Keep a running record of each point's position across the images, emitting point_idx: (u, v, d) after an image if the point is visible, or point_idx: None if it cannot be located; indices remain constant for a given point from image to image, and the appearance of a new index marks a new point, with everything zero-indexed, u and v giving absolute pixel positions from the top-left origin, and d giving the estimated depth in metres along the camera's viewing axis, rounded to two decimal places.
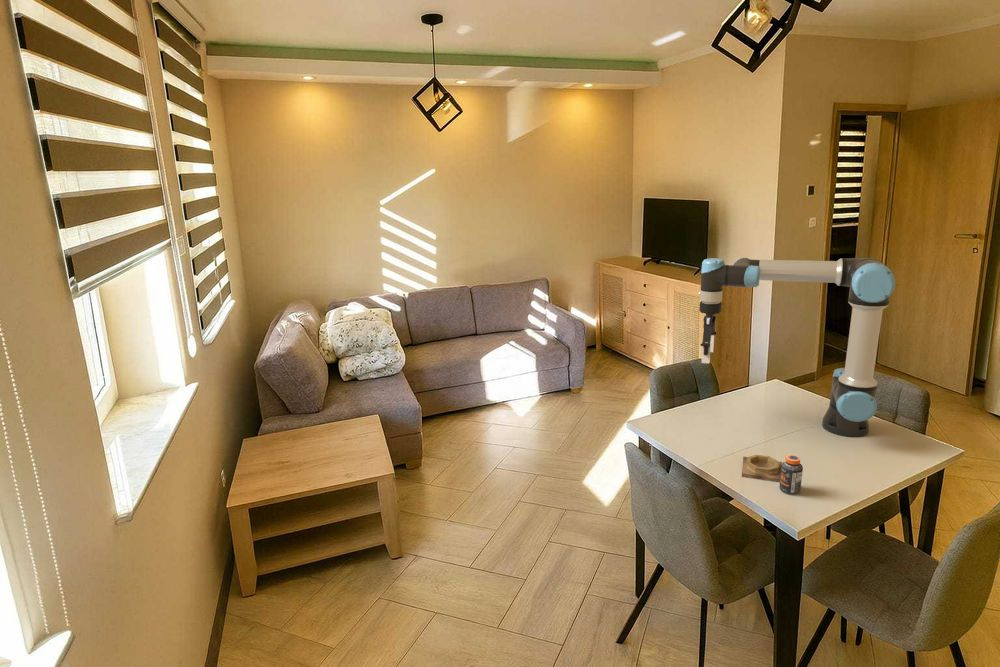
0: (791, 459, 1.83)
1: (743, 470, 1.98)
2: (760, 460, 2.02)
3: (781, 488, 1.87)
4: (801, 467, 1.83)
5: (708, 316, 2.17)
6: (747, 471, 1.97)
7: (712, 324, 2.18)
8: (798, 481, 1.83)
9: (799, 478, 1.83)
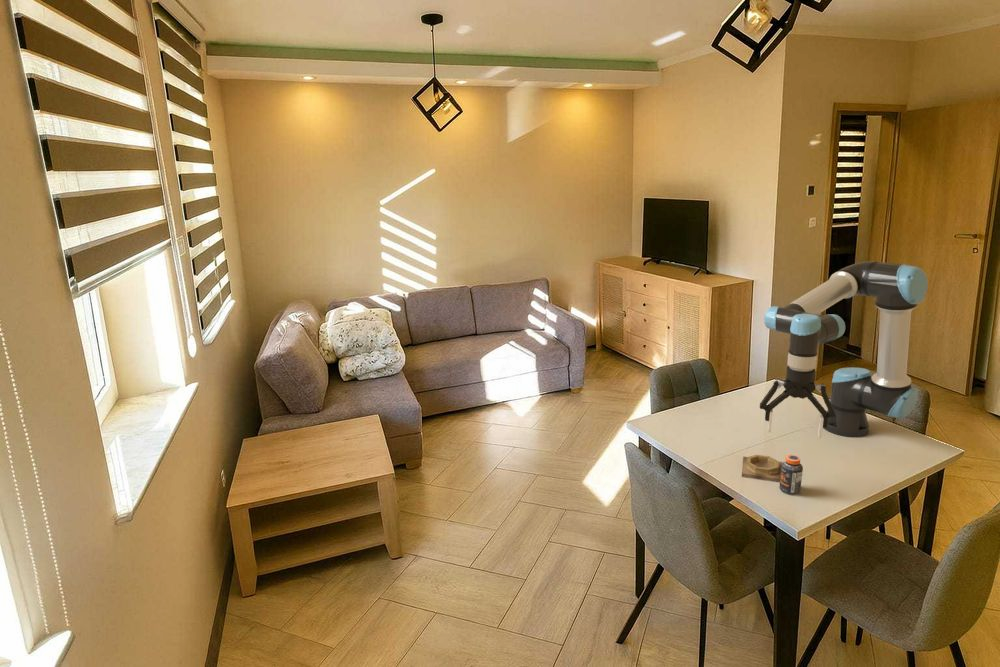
0: (791, 459, 1.83)
1: (743, 470, 1.98)
2: (760, 460, 2.02)
3: (781, 488, 1.87)
4: (801, 467, 1.83)
5: (785, 380, 1.79)
6: (747, 471, 1.97)
7: (787, 392, 1.79)
8: (798, 481, 1.83)
9: (799, 478, 1.83)
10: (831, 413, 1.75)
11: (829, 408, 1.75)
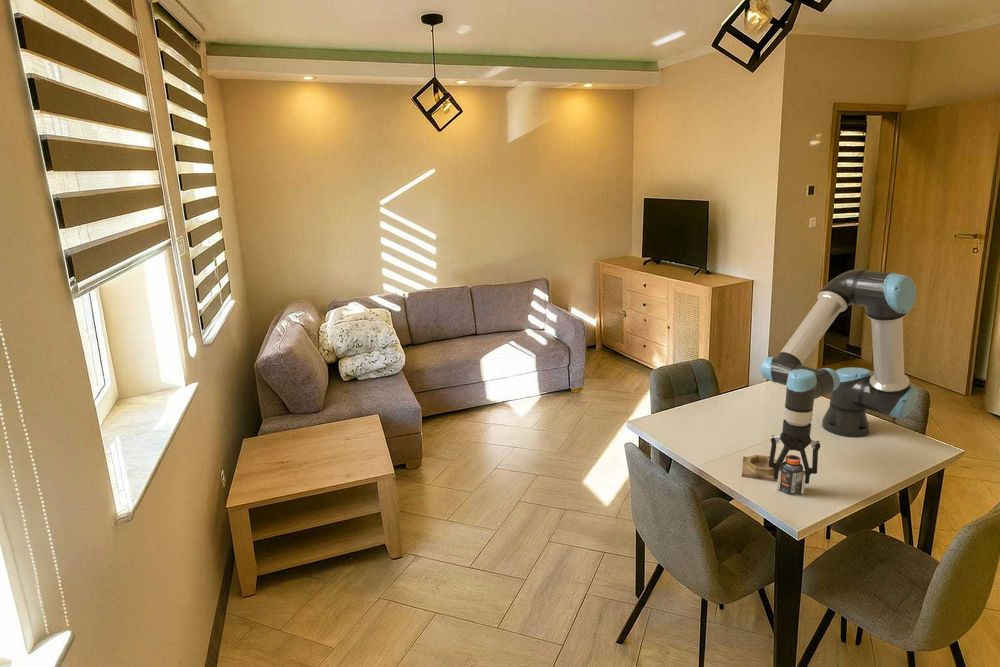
0: (792, 459, 1.83)
1: (743, 470, 1.98)
2: (760, 460, 2.02)
3: (781, 488, 1.86)
4: (801, 467, 1.83)
5: None
6: (747, 471, 1.97)
7: (785, 447, 1.83)
8: (798, 482, 1.83)
9: (799, 478, 1.83)
10: (814, 470, 1.81)
11: (814, 465, 1.81)
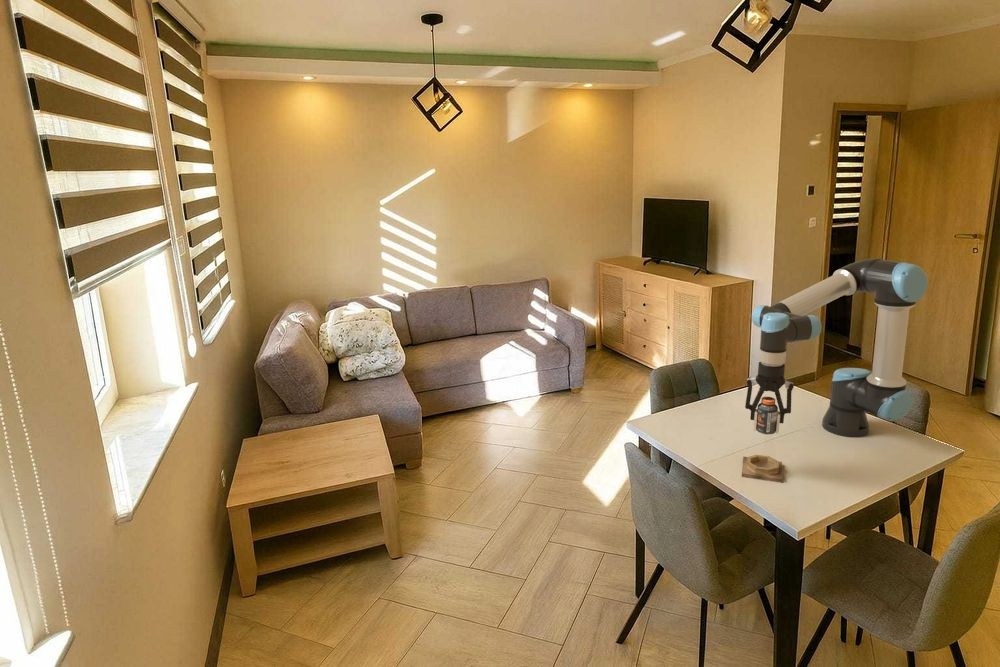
0: (767, 400, 1.91)
1: (743, 470, 1.98)
2: (760, 460, 2.02)
3: (757, 429, 1.94)
4: (776, 407, 1.91)
5: (756, 376, 1.92)
6: (747, 471, 1.97)
7: (761, 388, 1.91)
8: (773, 421, 1.91)
9: (774, 418, 1.91)
10: (788, 409, 1.89)
11: (788, 404, 1.89)
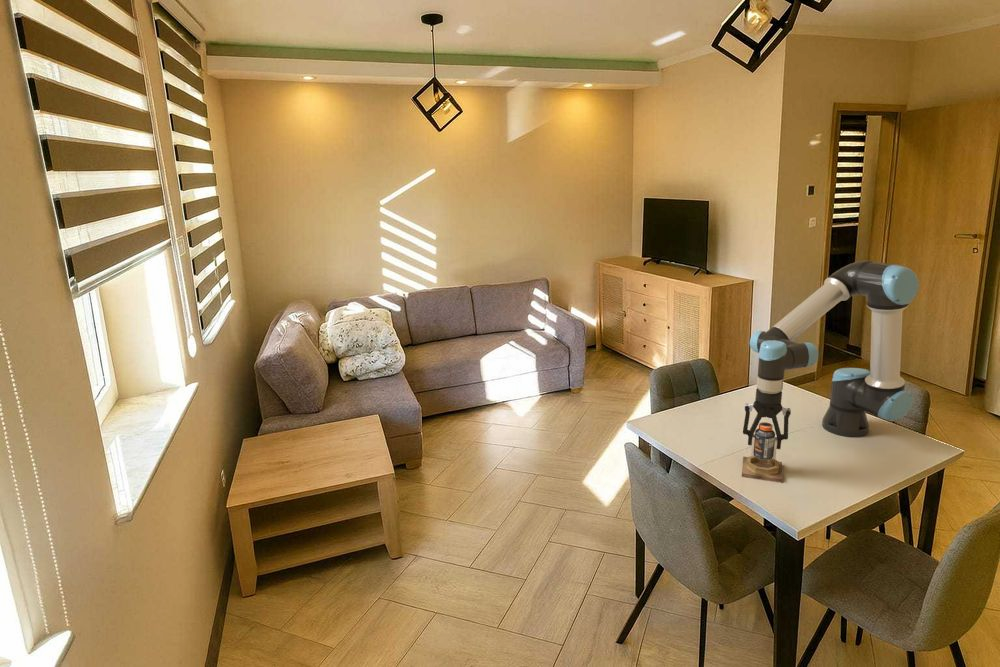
0: (764, 426, 1.94)
1: (743, 470, 1.98)
2: (760, 460, 2.02)
3: (755, 454, 1.97)
4: (773, 433, 1.94)
5: None
6: (747, 471, 1.97)
7: (758, 414, 1.93)
8: (770, 447, 1.94)
9: (771, 444, 1.94)
10: (785, 435, 1.92)
11: (785, 431, 1.92)
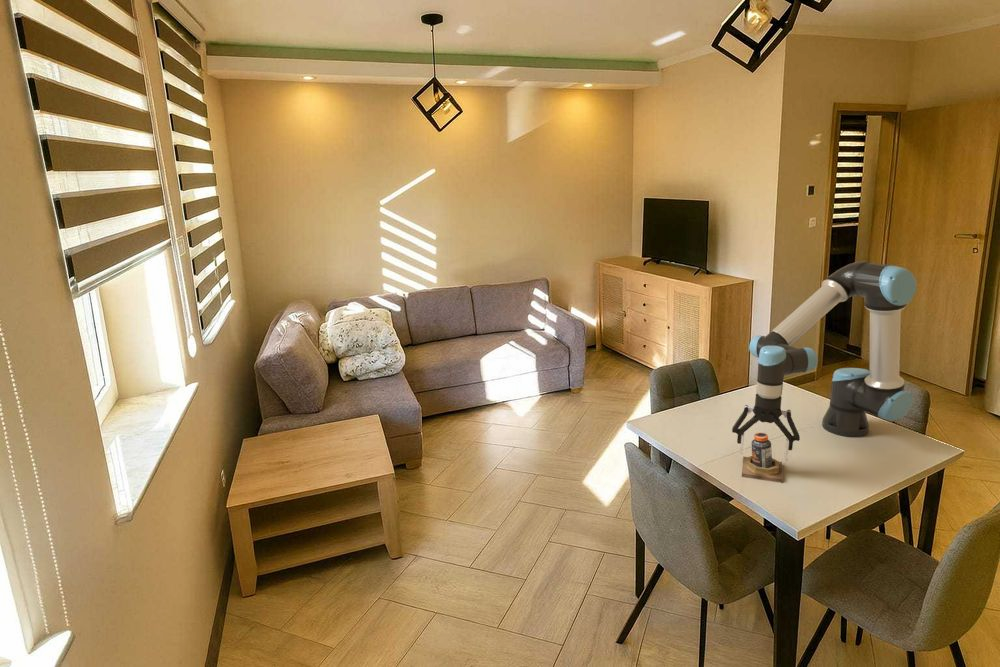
0: (759, 436, 1.95)
1: (743, 470, 1.98)
2: None
3: None
4: (769, 443, 1.95)
5: (754, 406, 1.94)
6: (747, 471, 1.97)
7: (756, 417, 1.94)
8: (768, 457, 1.95)
9: (768, 454, 1.95)
10: (796, 437, 1.91)
11: (794, 432, 1.91)
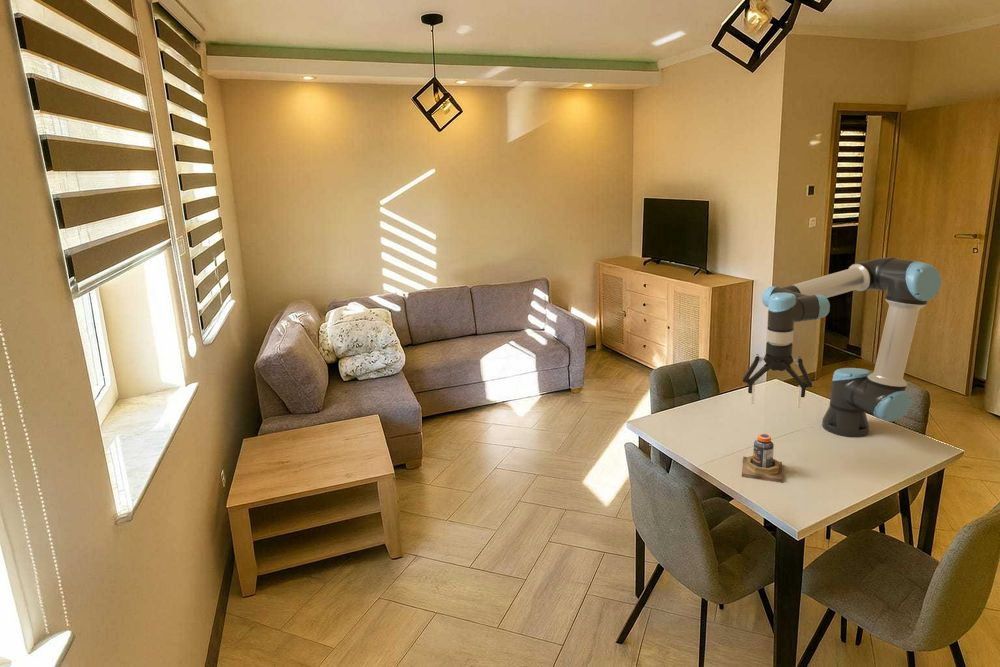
0: (762, 437, 1.95)
1: (743, 470, 1.98)
2: None
3: None
4: (772, 444, 1.95)
5: (765, 355, 1.94)
6: (747, 471, 1.97)
7: (767, 365, 1.93)
8: (769, 458, 1.95)
9: (770, 455, 1.95)
10: (808, 383, 1.90)
11: (806, 379, 1.90)
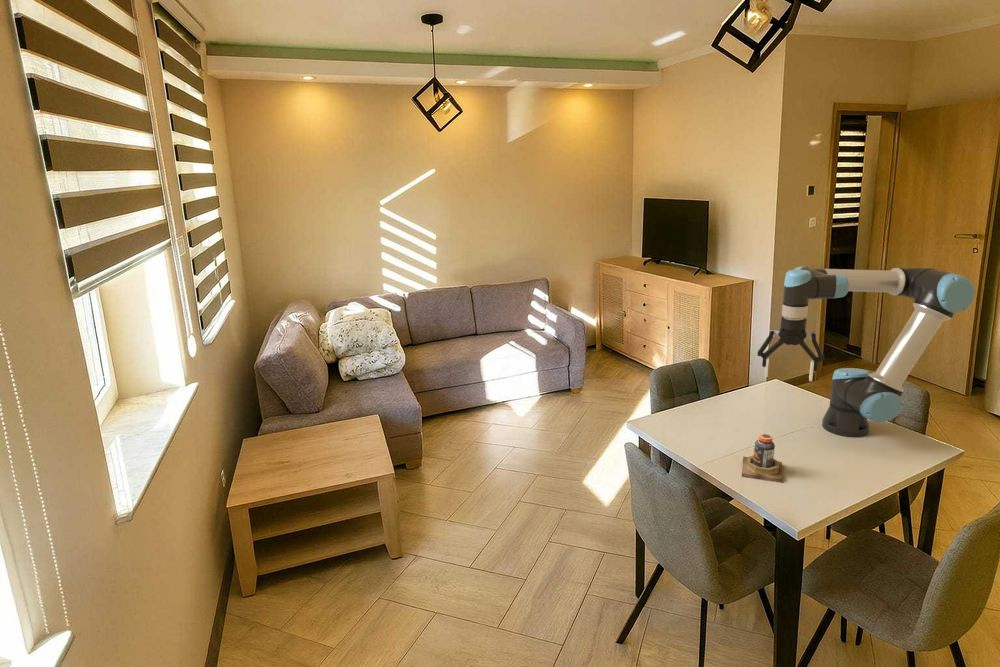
0: (764, 437, 1.95)
1: (743, 470, 1.98)
2: None
3: (754, 464, 1.98)
4: (773, 445, 1.95)
5: (780, 329, 2.02)
6: (747, 471, 1.97)
7: (781, 339, 2.01)
8: (769, 459, 1.95)
9: (770, 455, 1.95)
10: (820, 357, 1.98)
11: (819, 353, 1.98)
